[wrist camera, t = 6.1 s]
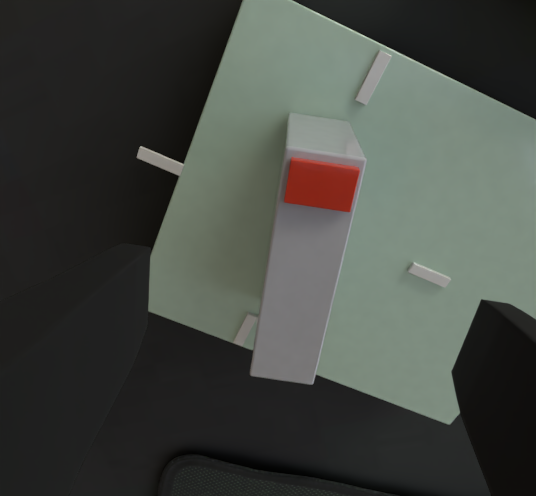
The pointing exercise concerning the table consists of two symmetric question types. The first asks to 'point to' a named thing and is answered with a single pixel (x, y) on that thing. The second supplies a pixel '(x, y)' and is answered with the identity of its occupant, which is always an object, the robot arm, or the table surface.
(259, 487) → the mouse mat
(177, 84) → the table surface
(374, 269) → the block
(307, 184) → the tap handle
